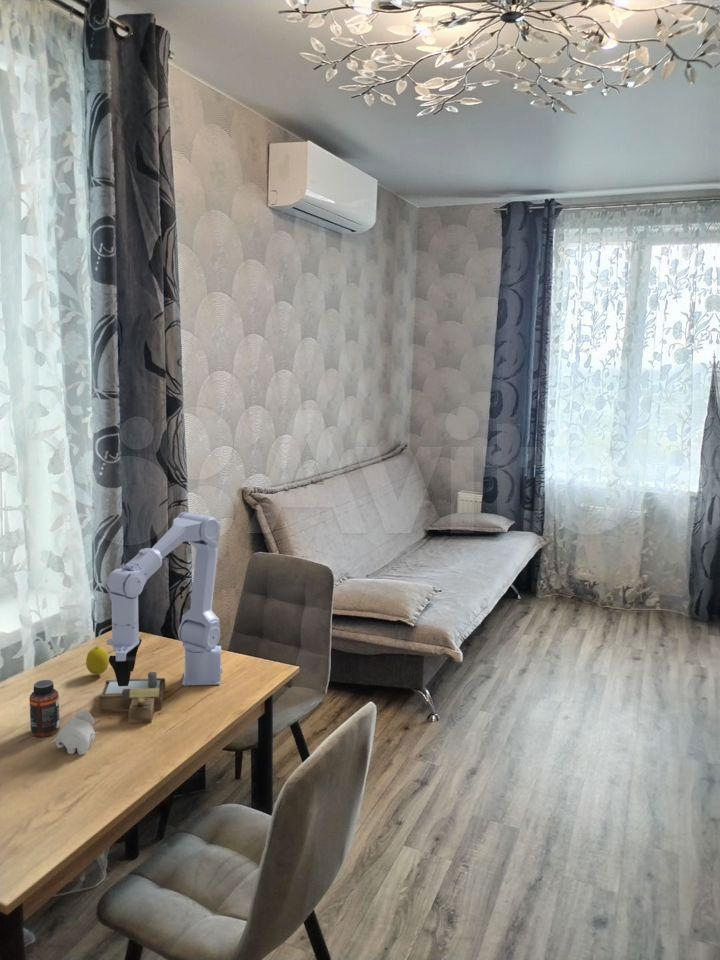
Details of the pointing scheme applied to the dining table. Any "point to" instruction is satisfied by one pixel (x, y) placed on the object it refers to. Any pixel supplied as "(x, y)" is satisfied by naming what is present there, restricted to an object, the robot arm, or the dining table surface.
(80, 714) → the elephant figurine
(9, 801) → the dining table surface
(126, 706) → the case
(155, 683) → the lid
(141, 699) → the lever
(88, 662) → the lemon
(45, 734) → the supplement bottle
